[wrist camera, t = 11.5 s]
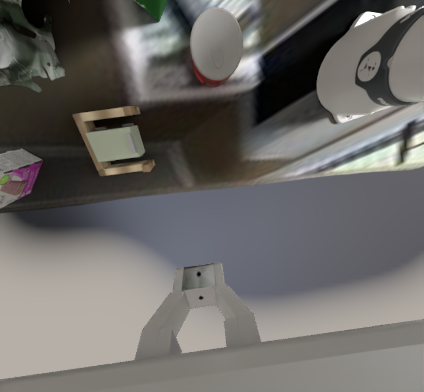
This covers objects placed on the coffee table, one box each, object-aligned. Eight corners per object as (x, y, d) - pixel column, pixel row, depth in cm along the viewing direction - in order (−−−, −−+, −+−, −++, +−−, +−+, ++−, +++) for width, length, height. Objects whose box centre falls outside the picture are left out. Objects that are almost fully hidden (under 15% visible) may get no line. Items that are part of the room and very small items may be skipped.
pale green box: (136, 122, 38) (126, 124, 32) (146, 154, 41) (138, 160, 36) (96, 127, 38) (80, 130, 32) (109, 159, 41) (96, 166, 36)
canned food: (204, 95, 36) (206, 89, 26) (184, 51, 32) (178, 27, 23) (237, 75, 35) (252, 62, 25) (220, 28, 31) (230, -8, 21)
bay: (138, 106, 36) (130, 105, 32) (155, 164, 42) (150, 171, 38) (82, 113, 36) (66, 114, 32) (107, 171, 42) (96, 178, 38)
